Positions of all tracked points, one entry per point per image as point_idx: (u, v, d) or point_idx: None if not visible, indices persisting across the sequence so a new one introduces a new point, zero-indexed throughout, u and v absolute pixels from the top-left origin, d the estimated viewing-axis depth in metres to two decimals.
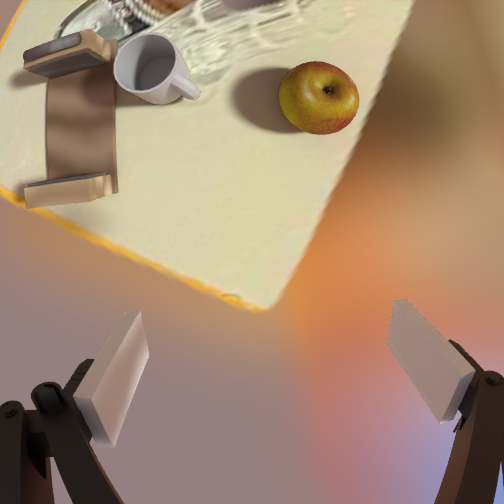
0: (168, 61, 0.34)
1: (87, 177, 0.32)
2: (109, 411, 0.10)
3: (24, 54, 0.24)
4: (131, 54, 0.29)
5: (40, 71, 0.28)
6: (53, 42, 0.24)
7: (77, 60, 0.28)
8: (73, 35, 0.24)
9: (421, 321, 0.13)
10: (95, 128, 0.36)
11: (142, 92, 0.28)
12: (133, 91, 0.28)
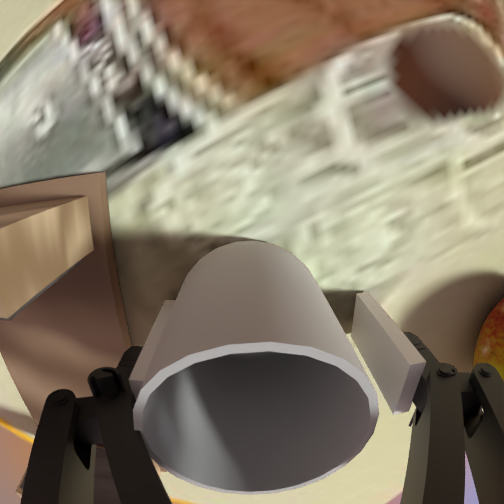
0: None
1: None
2: None
3: None
4: None
5: None
6: None
7: None
8: None
9: (379, 313, 0.14)
10: None
11: (253, 491, 0.09)
12: (225, 491, 0.09)
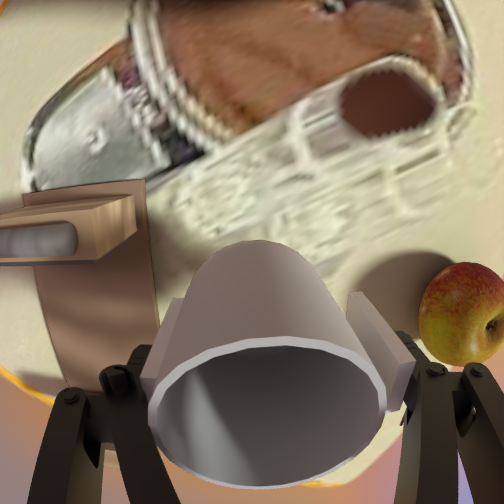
0: None
1: None
2: None
3: None
4: None
5: None
6: (17, 243, 0.13)
7: None
8: (57, 239, 0.13)
9: (370, 312, 0.14)
10: (130, 341, 0.24)
11: None
12: (235, 486, 0.09)
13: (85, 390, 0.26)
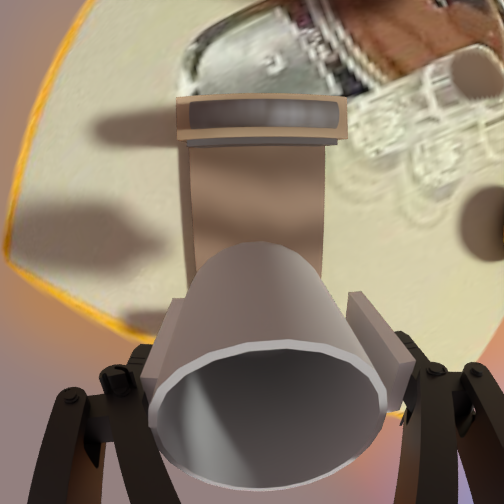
0: None
1: None
2: None
3: (193, 113, 0.15)
4: None
5: None
6: (281, 108, 0.15)
7: (297, 144, 0.20)
8: (333, 109, 0.15)
9: (370, 312, 0.14)
10: None
11: (262, 488, 0.09)
12: (235, 488, 0.09)
13: None
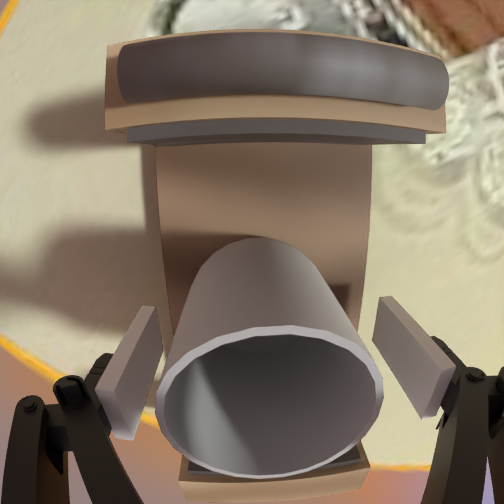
0: None
1: None
2: (129, 404, 0.10)
3: (126, 64, 0.06)
4: None
5: (171, 141, 0.10)
6: (334, 51, 0.06)
7: (344, 139, 0.10)
8: (437, 69, 0.06)
9: (404, 317, 0.13)
10: None
11: (262, 475, 0.10)
12: (236, 474, 0.10)
13: None
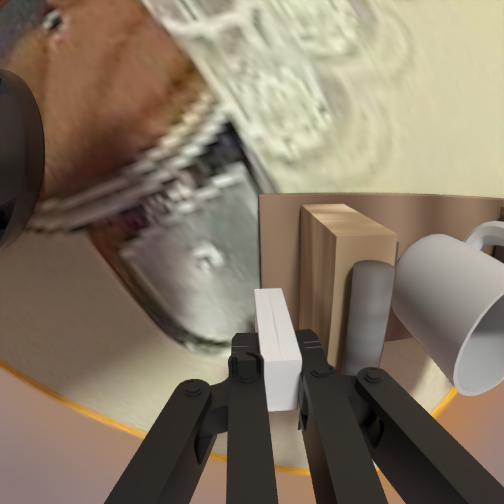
0: None
1: None
2: None
3: None
4: None
5: None
6: (368, 350, 0.11)
7: None
8: (376, 284, 0.10)
9: (279, 308, 0.15)
10: (441, 233, 0.19)
11: None
12: None
13: None
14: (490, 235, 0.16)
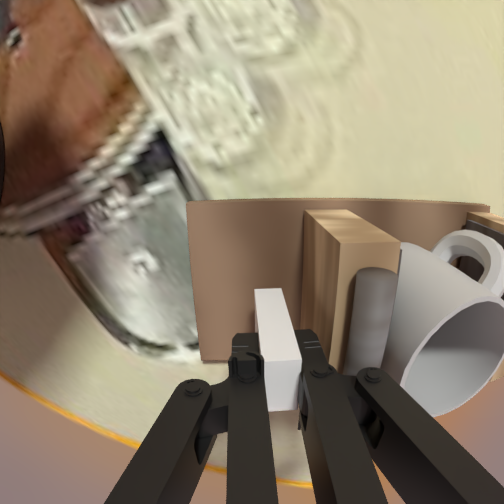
0: None
1: None
2: None
3: None
4: None
5: None
6: (370, 356, 0.11)
7: None
8: (379, 291, 0.10)
9: (279, 308, 0.15)
10: None
11: (503, 354, 0.12)
12: (495, 370, 0.12)
13: None
14: (458, 245, 0.16)
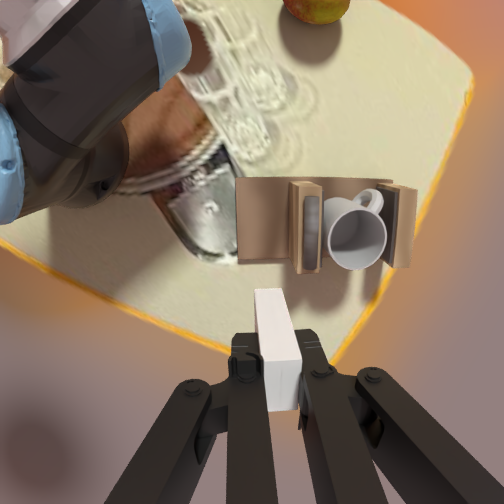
0: None
1: (395, 191, 0.35)
2: None
3: (311, 268, 0.35)
4: None
5: None
6: (311, 227, 0.33)
7: None
8: (311, 200, 0.32)
9: (279, 308, 0.15)
10: (332, 197, 0.41)
11: (385, 241, 0.34)
12: (382, 250, 0.34)
13: None
14: (363, 196, 0.38)
